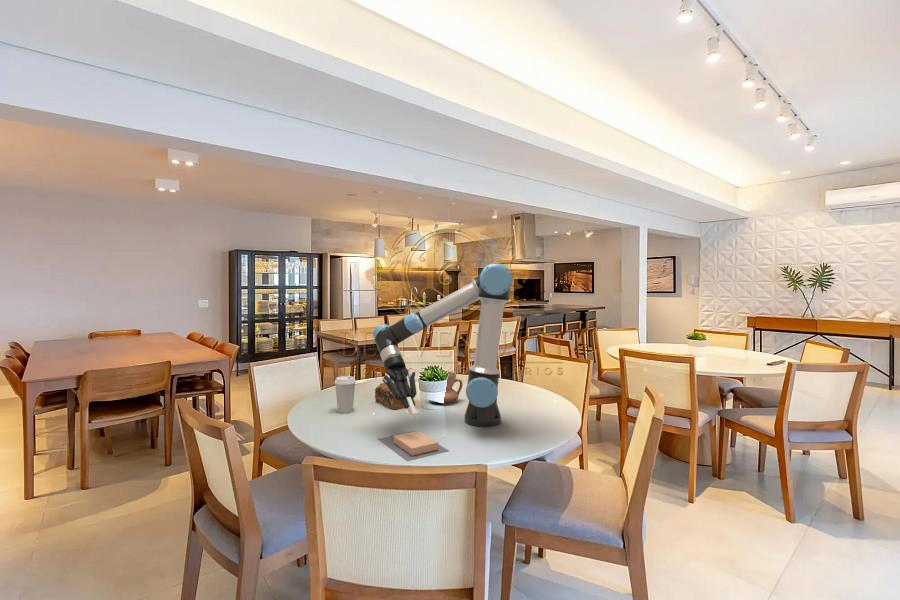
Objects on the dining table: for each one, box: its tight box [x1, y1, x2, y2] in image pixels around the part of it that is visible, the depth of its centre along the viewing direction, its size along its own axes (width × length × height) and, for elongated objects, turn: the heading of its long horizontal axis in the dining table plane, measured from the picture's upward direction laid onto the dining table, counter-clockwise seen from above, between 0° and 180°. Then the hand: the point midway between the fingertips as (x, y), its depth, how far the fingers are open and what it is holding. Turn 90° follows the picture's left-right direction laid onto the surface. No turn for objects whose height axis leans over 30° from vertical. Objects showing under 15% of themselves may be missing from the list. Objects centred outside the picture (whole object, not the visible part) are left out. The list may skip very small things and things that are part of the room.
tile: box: [392, 430, 439, 456], centre depth 148 cm, size 3×10×14 cm
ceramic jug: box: [444, 370, 464, 405], centre depth 209 cm, size 18×14×14 cm
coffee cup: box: [333, 375, 357, 414], centre depth 193 cm, size 10×10×15 cm
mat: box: [377, 430, 450, 462], centre depth 151 cm, size 24×16×1 cm, turn 33°
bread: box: [374, 382, 407, 410], centre depth 205 cm, size 19×11×10 cm, turn 35°
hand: (413, 415), depth 149 cm, fingers closed
